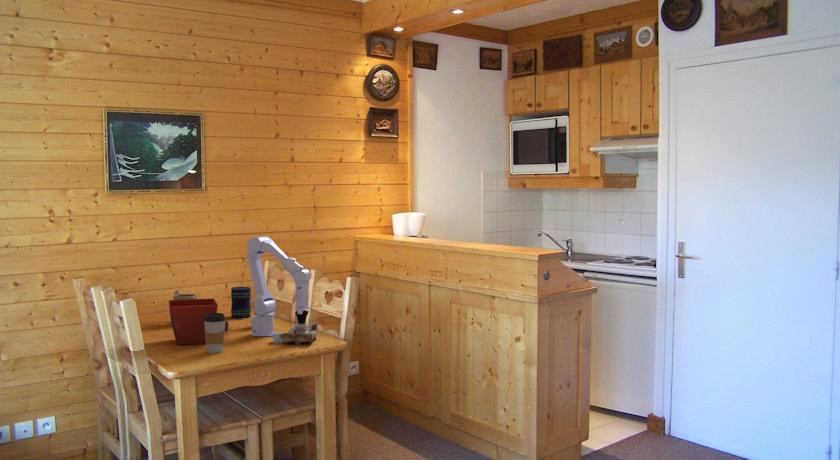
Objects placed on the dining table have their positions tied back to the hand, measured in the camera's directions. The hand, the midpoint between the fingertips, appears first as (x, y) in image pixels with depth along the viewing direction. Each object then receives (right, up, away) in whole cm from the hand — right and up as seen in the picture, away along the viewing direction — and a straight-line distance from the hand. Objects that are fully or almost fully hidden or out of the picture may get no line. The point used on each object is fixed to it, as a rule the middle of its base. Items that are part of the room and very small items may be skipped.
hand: (301, 327), depth 308 cm
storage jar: (-39, -2, +49) cm, 62 cm away
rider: (0, -2, -3) cm, 4 cm away
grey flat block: (0, -5, -2) cm, 5 cm away
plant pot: (-45, -5, -10) cm, 46 cm away
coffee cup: (-30, -6, -28) cm, 41 cm away
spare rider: (-9, -5, -8) cm, 13 cm away
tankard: (-62, -2, +31) cm, 69 cm away
